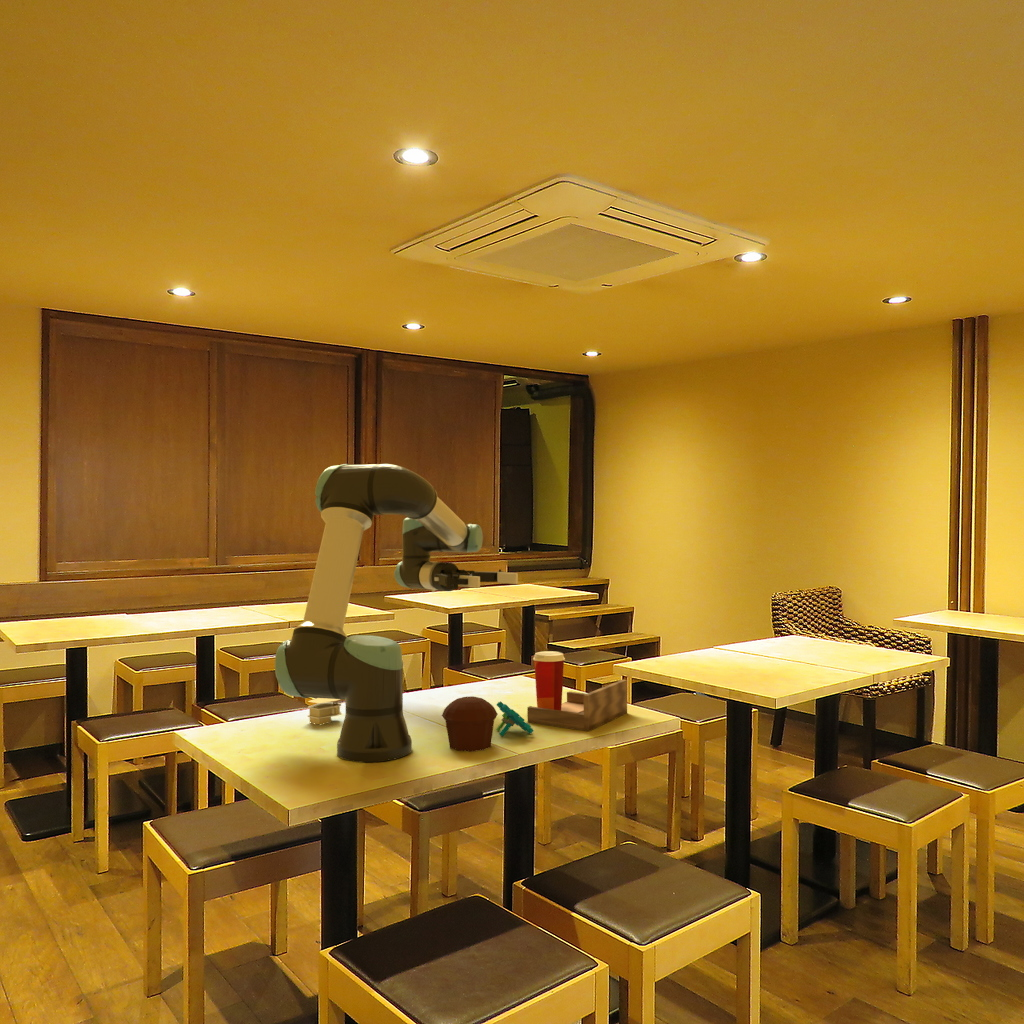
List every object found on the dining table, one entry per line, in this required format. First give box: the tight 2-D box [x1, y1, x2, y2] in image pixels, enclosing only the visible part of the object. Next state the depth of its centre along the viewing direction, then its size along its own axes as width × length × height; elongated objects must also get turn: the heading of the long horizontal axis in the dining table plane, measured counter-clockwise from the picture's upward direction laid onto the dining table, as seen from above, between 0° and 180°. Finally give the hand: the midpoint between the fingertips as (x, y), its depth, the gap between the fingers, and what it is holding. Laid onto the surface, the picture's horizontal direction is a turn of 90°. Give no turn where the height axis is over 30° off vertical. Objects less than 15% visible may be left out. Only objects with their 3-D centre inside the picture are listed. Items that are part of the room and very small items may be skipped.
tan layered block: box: [307, 698, 342, 726], centre depth 202 cm, size 10×9×6 cm
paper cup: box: [532, 650, 566, 710], centre depth 204 cm, size 8×8×14 cm
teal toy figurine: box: [495, 701, 534, 737], centre depth 189 cm, size 11×6×10 cm
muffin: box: [441, 696, 499, 753], centre depth 180 cm, size 12×11×10 cm
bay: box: [527, 679, 628, 732], centre depth 203 cm, size 20×16×8 cm
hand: (498, 580), depth 212 cm, fingers open, 13 cm apart
